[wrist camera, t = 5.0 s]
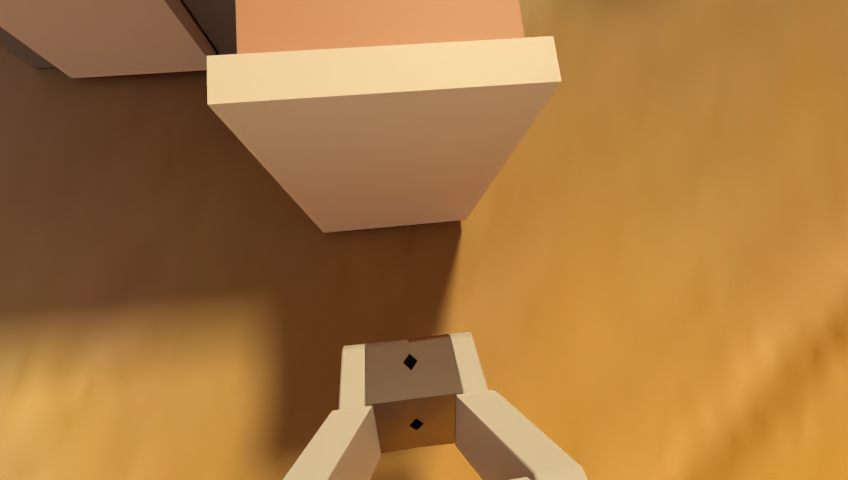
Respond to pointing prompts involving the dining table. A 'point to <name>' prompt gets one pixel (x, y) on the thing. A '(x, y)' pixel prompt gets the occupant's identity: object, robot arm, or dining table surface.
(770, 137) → the dining table surface
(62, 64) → the thin beige tile
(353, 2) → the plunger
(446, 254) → the dining table surface
